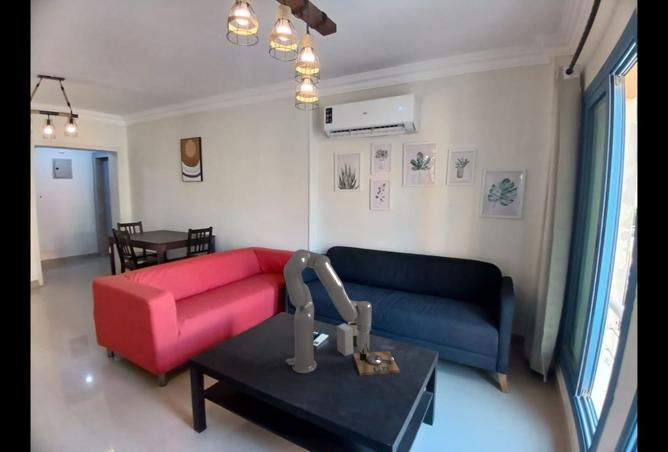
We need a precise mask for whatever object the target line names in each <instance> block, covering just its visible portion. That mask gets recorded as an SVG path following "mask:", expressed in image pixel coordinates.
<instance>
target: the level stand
mask: <svg viewBox="0 0 668 452" xmlns="http://www.w3.org/2000/svg"><path fill="white" fill-rule="evenodd" d="M352 355H353V359H354V362H355V365H356V366H357V367H356V368H357V370H358V373H359V376H360V377H361V376H374V375H375V376H376V375H388V374H390V373H391V374H400V368H399V367H398V365H397V363H396V361H395V360H394V361H393V362H387V361H382V363H381V364H378V365H373V364H370V363H368V362H367V360H366V361H361V360H360V352H356V353H355V352H353V354H352ZM369 355H379V356H380V357H381V358H382V359H386V360H390V358H391V357H393V356H392V354H391V352H390V351H388V350H387V351H372V352H367V357H368V356H369Z"/></svg>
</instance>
